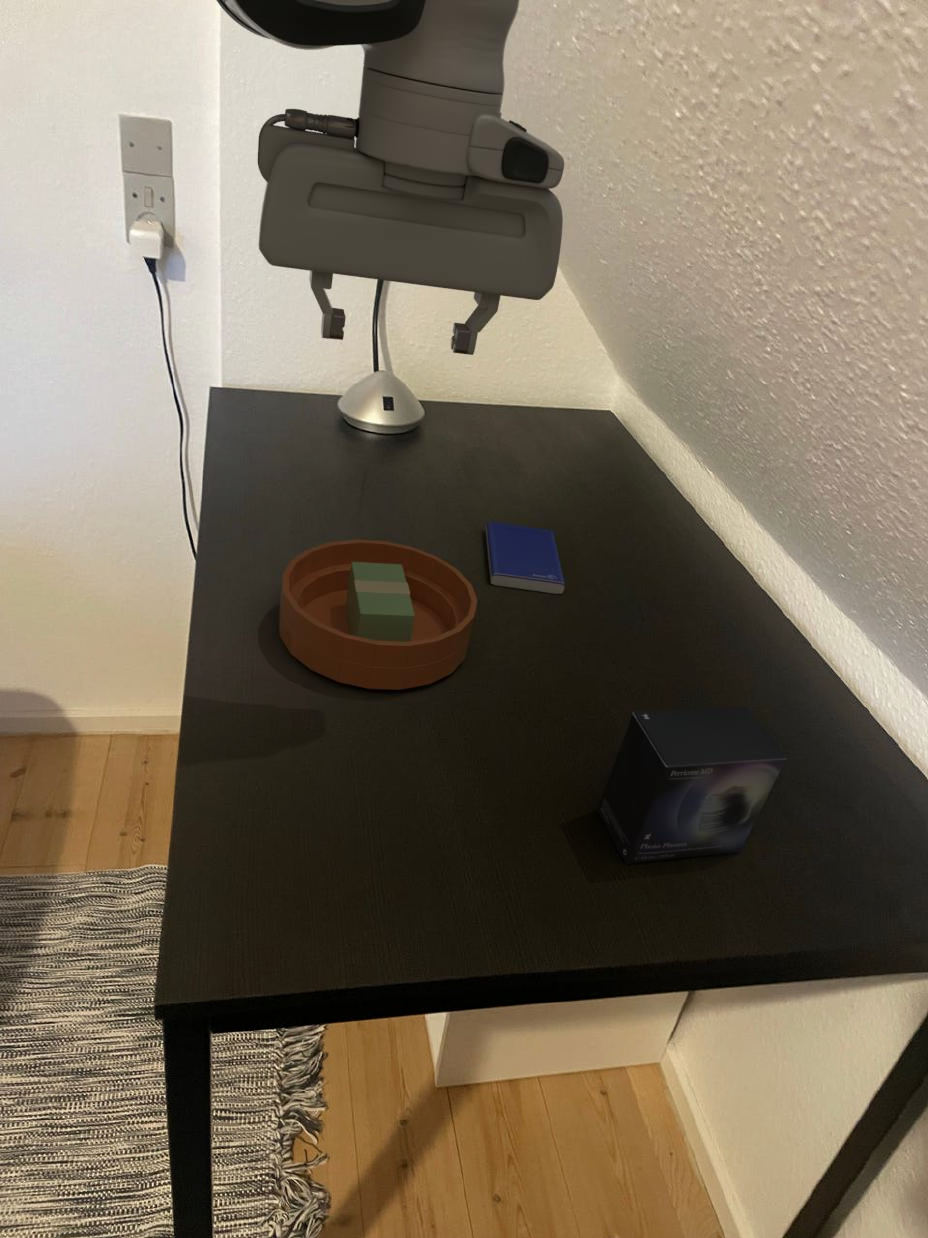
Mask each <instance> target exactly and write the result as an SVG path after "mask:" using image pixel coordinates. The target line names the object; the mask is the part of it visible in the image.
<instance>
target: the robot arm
mask: <svg viewBox="0 0 928 1238" xmlns="http://www.w3.org/2000/svg"><path fill="white" fill-rule="evenodd" d="M215 1H216V2H217V3H218V5H219V6H220V7H221V9H223V11H224V12H225V13H226V14H227V15H228V16H229V17H230V18H231V19H232V20H233V21H234V22H235V23H237V24H238V25H239V26H241V27H242V28H244V29H245V30H247V31H248V32H250V33H252V34H254V35H256V36H258V37H262V38H264V39H268V40H271V41H274V42H276V43H278V44H280V45H283V46H285V47H289V48H292V49H296V50H303V51H318V50H325V49H329V48H333V47H337V46H338V47H339V46H358V45H359V46H361V47H362V48H361V49H362V50H363V66H362V73H361V74H362V75H361V82H360V83H361V84H360V85H361V86H360V94H359V105H358V113H357V114H358V116H357V118H353V117H346V116H340V115H335V114H319V113H315V114H314V113H312V112H309V111H307V110H305V109H304V110H303V109H299V108H286V109H285V110H284V113H279V114H275V115H273V116H271V117H269V118H267V120H266V121H265V122H264V123H263V125H262V127H261V128H260V131H259V134H258V141H257V142H258V143H257V166H258V170H259V173H260V175H261V177H262V178H263V179H264V181H265V182H266V183H265V184H266V185H265V189H264V194H263V201H262V205H261V212H260V221H259V222H260V223H259V229H258V230H259V232H258V250H259V252H260V254H261V255H262V256H263V258H264V260H266V262H267V263H268V264H269V265H270V266H273V267H278V268H279V267H280V268H287V269H295V270H301V271H302V270H303V271H309V285H310V289H311V291H312V293H313V295H314V298H315V299H316V302H317V304H318V306H319V308H320V311H321V325H320V334H321V339H327V340H329V339H330V340H340V341H344V337H345V336H344V335H345V332H344V331H345V330H344V328H345V326H346V313H345V309H344V308H337V307H333V306H332V304H331V301H330V299H329V297H328V294H327V292H326V290H331V289H332V288H333V287H332V286H333V279H334V275H340V276H347V277H348V276H349V277H355V278H356V277H357V278H363V279H364V278H365V279H371V280H379V281H387V282H392V283H393V282H394V283H401V284H409V285H415V286H416V285H417V286H423V287H424V286H425V287H433V288H440V289H447V290H448V289H449V290H456V291H464V292H471V293H473V300H474V301H475V303H476V304H477V306H476V308H475V309H474V310H473V311H472V313H471V314H470V315H469V317H468V318H467V319H466V321H464V323H461V322H453V326H452V334H453V335H452V336H451V338H450V349H451V350H452V353H454V354H462V355H469V356H474V354H475V351H476V345H477V340H478V334H479V333H481V331H483V329H484V328H485V327H486V326H487V324H488V323H489V322H490V321H491V320H492V319H493V318H494V316H495V315H496V314H497V313H498V311H499V307H500V301H501V296H502V297H509V298H510V297H511V298H517V299H524V300H532V301H540V300H542V299H543V298H544V297H545V296H546V295H547V294H549V292H550V291H551V290H552V289H553V287H554V285H555V282H556V277H557V272H558V268H559V261H560V254H561V248H562V247H561V246H562V238H563V237H562V235H563V224H564V223H563V221H564V218H563V217H564V216H563V209H562V205H561V202H560V200H559V198H558V197H557V195H556V194H555V193H554V192H553V191H551V190H550V189H554V188H556V187H558V185H559V184H560V183H561V180H562V178H563V175H564V169H565V159H564V157H563V156H562V154H561V153H560V152H558V151H557V150H556V149H555V148H553V147H552V146H551V145H549V144H548V143H546V142H545V141H543V140H541V139H539V138H538V137H536V136H534V135H533V134H531V133H529V132H528V130H527V129H526V128H525V127H523V126H522V125H521V124H520V123H518V122H515V121H513V120H512V119H511V120H506V119H505V118H503V117H502V115H503V114H502V112H501V111H502V104H503V100H504V93H505V84H506V83H505V82H506V81H505V80H506V79H505V70H504V69H505V67H504V58H505V50H506V43H507V40H508V37H509V34H510V31H511V28H512V26H513V24H514V22H515V20H516V17H517V15H518V11H519V6H520V0H215ZM283 122H284V125H283V126H281V125H276V124H277V123H283Z"/></svg>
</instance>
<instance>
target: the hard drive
mask: <svg viewBox="0 0 928 1238" xmlns="http://www.w3.org/2000/svg"><path fill="white" fill-rule="evenodd" d="M485 539H486V549H487V560H488V570H489V579H490V580H489V581H490V584H491V585H493V586H498V587H504V588H511V589H512V588H513V589H519V590H526V591H534V592H541V593H547V594H555V595H561V594H564V591H565V587H566V583H565V582H566V581H565V579H564V574H563V570H562V564H561V561H560V556H559V552H558V547H557V543H556V540H555V533H554V531H552V530H550V529H545V528H538V527H533V526H532V527H531V526H524V525H519V524H511V523H504V522H497V521H487V522H486V526H485Z"/></svg>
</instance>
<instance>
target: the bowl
mask: <svg viewBox="0 0 928 1238" xmlns="http://www.w3.org/2000/svg"><path fill="white" fill-rule="evenodd" d="M351 562H365V563H383V564H401V565H402V567H403V571H404V575H405V579H406V583H408V587H409V590H410V598H411V602H412V606H413V610H414V614H415V618H414V624H413V629H412V635H411V641H409V642H402V641H377V640H372V639H368V638H363V637H358V636H354V635H351V633H350V627H349V620H348V613H347V607H346V601H347V593H348V585H349V578H350V570H351ZM477 607H478V598H477V596H476V592H475V590H474V586H473V585H472V584H471V582H470V581H469V580H468V579H467V578H466V577H465V576H464V575H463V574H462V572H461V571H460V570H459V569H457V568H456V567H454V566H453V565H451V564H449V563H448V562H446V561H445V560H443V559H441V558H440V557H439V556H437V555H434V554H431V553H429V552H426V551H424V550H421V549H419V548H416V547H414V546H413V547H412V546H409V545H404V544H399V543H396V542H391V541H387V540H386V541H385V540H374V539H373V540H371V539H357V538H355V539H348V540H336V541H330V542H326V543H324V544H323V543H322V544H320V545H317V546H314V547H310V548H308V549H306V550H305V551H303V552H302V553H300V554H298V555H297V556H295V557H294V558H293V559H291V560H290V562H289V563H288V565H287V567H286V568H285V570H284V572H283V573H282V575H281V585H280V597H279V610H278V632H279V633H278V634H279V637H280V639H281V641H282V642H283V644H284V645H285V647H286V649H287V651H288V652H289V654H290V655H292V656H293V657H294V658H295V659H296V660H298V661H299V662H300V663H301V664H303V665H304V666H305V667H306V668H308V669H309V670H311V671H313V672H315V673H317V674H319V675H321V676H324V677H326V678H328V679H330V680H333V681H335V682H338V683H340V684H346V685H350V686H355V687H360V688H363V689H368V690H395V691H397V690H398V691H399V690H406V689H412V688H417V687H422V686H427V685H431V684H433V683H435V682H438V681H439V680H442V679H444V678H445V677H447V676H449V675H451V674H453V672H455V670H457V668H458V667H459V666H460V665H461V664H462V663H463V662H464V661H465V659H466V656H467V653H468V652H467V651H468V647H469V643H470V639H471V634H472V629H473V625H474V620H475V615H476V611H477Z"/></svg>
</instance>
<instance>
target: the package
mask: <svg viewBox="0 0 928 1238" xmlns="http://www.w3.org/2000/svg"><path fill="white" fill-rule="evenodd" d="M346 607H347V613H348V620H349V627H350V633H351V635H354V636H358V637H363V638H368V639H372V640H377V641H402V642H409V641H411V635H412V629H413V624H414V618H415V614H414V610H413V606H412V602H411V598H410V590H409V587H408V583H406V579H405V575H404V571H403V567H402V565H401V564H383V563H365V562H351V570H350V578H349V585H348V593H347V601H346Z"/></svg>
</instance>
